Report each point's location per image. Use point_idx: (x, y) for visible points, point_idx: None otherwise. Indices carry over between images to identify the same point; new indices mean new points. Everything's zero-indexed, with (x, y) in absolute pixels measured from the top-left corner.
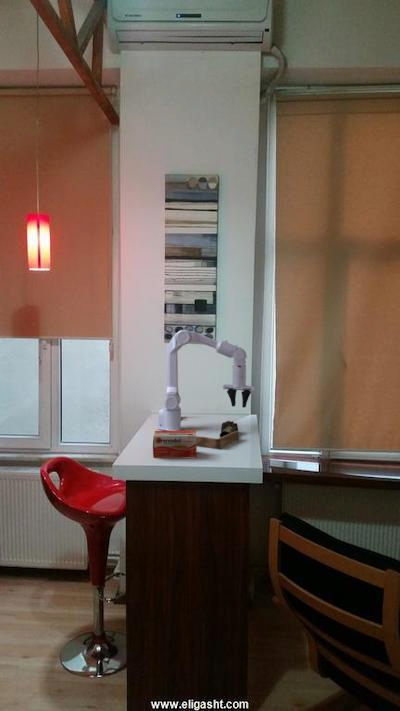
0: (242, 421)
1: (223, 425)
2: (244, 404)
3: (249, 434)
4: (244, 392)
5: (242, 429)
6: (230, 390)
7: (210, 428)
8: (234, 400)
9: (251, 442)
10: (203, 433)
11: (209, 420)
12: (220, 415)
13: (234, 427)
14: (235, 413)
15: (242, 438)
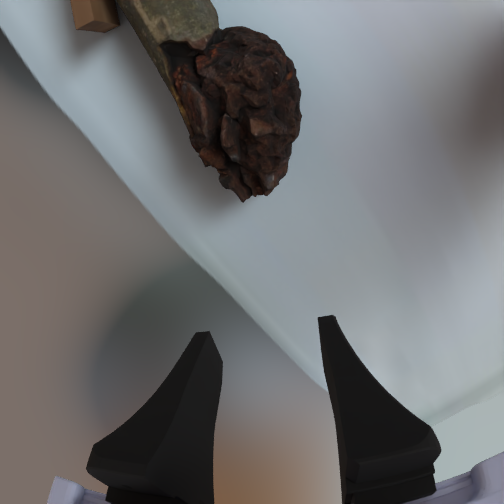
0: None
1: (253, 41)
2: (185, 358)
3: (147, 181)
4: (101, 461)
5: (265, 260)
6: (390, 480)
7: (437, 165)
8: (330, 388)
9: (30, 51)
10: (392, 14)
11: (493, 310)
12: (469, 385)
13: (177, 93)
14: (429, 424)
15: (107, 70)
